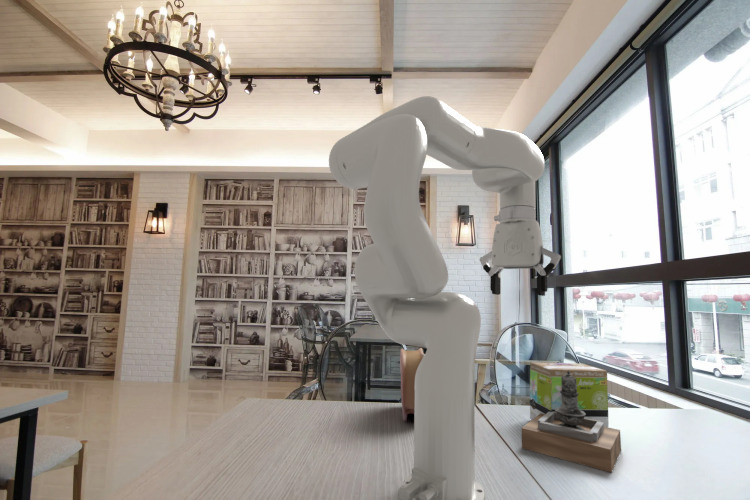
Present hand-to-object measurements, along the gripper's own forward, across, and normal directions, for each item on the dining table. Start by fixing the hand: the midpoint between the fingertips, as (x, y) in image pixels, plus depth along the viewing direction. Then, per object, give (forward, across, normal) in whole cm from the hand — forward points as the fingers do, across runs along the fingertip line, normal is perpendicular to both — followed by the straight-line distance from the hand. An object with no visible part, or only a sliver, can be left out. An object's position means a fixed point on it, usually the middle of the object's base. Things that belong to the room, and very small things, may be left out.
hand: (517, 294), depth 81 cm
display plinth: (+32, +8, +10) cm, 34 cm away
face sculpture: (+32, -29, +4) cm, 44 cm away
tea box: (+31, +3, +25) cm, 41 cm away
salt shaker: (+28, +8, +9) cm, 30 cm away
